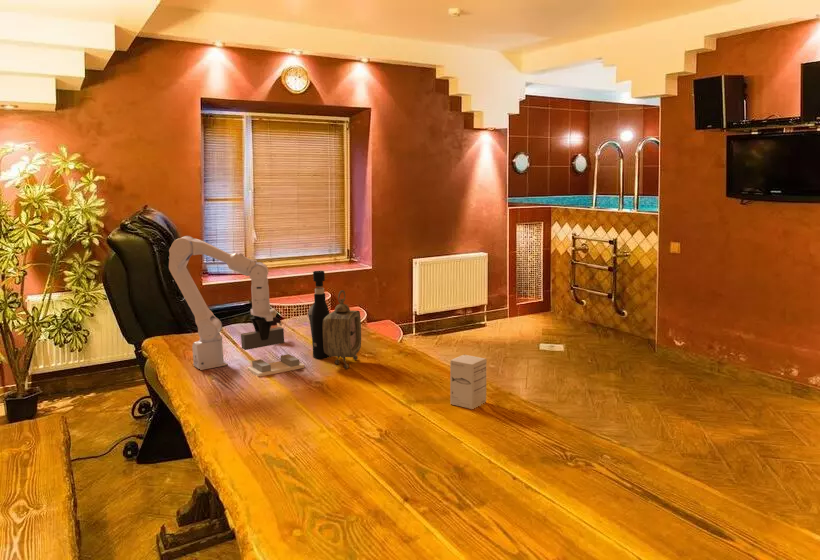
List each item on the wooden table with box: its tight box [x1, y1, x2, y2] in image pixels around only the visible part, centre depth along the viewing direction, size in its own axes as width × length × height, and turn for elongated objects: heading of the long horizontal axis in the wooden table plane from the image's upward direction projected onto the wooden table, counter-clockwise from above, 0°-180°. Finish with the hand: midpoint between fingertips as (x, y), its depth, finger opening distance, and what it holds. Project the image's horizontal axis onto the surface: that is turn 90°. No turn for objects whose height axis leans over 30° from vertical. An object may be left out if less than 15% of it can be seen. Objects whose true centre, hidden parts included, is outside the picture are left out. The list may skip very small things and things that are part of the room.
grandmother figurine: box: [270, 308, 283, 329], centre depth 248 cm, size 8×4×13 cm, turn 143°
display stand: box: [247, 354, 305, 377], centre depth 211 cm, size 16×9×3 cm, turn 125°
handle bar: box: [240, 326, 285, 351], centre depth 218 cm, size 14×3×5 cm, turn 125°
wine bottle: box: [311, 270, 332, 360], centre depth 223 cm, size 6×6×30 cm
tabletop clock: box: [323, 289, 362, 370], centre depth 213 cm, size 14×9×25 cm, turn 168°
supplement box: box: [449, 354, 488, 410], centre depth 174 cm, size 7×7×13 cm
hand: (262, 338), depth 218 cm, fingers closed on handle bar, 3 cm apart
